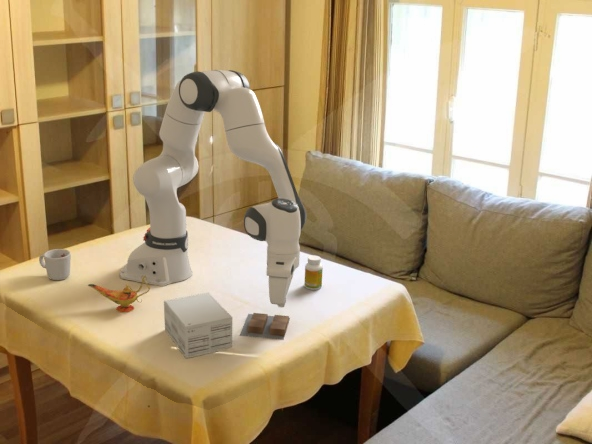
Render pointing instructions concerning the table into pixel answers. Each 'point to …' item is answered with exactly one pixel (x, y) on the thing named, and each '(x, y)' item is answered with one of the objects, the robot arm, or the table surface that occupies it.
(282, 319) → the right walnut tile
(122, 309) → the magic lamp
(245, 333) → the slate rubber mat
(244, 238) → the table surface
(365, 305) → the table surface
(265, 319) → the left walnut tile
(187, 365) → the table surface
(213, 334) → the supplement box
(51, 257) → the cup
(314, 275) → the supplement bottle
